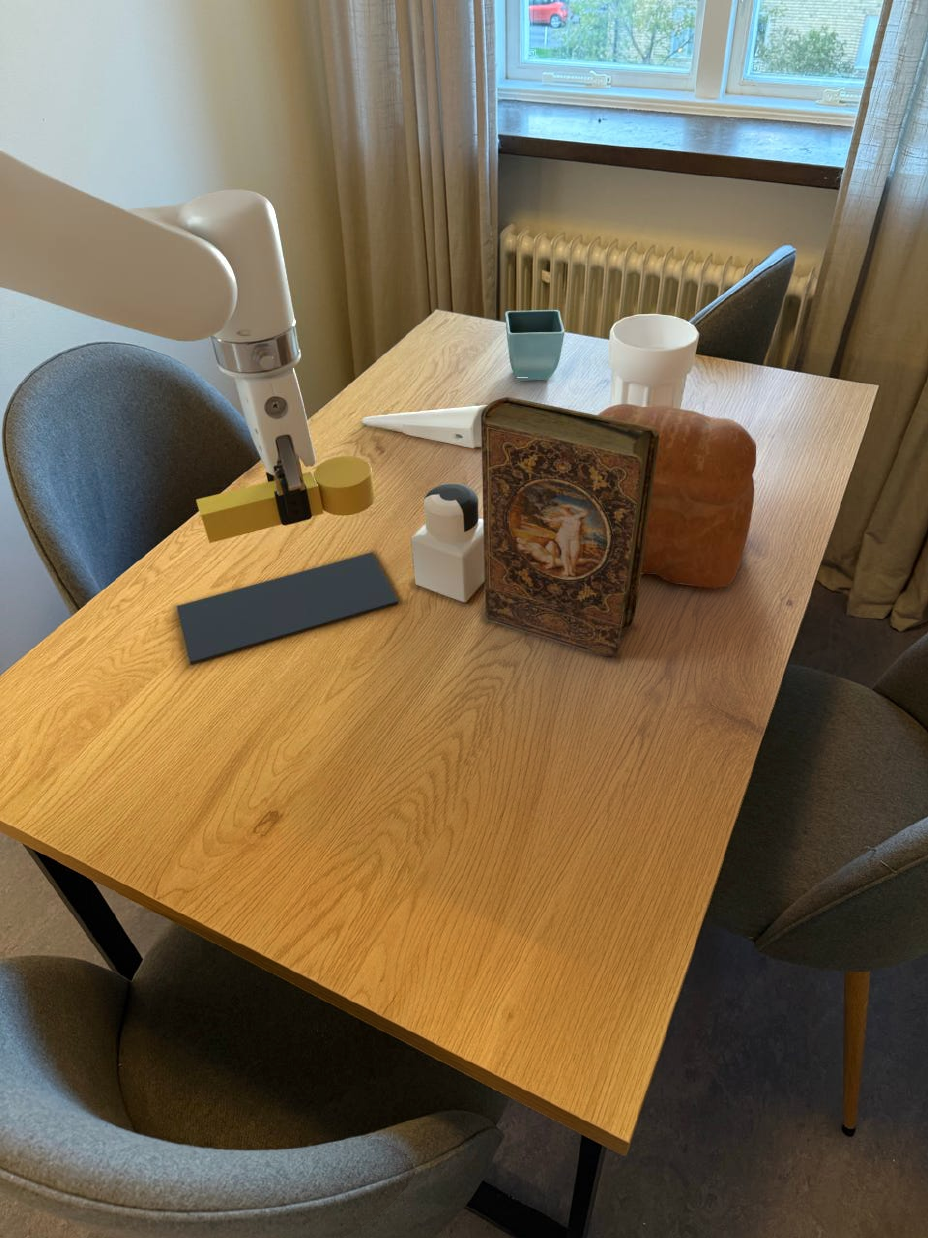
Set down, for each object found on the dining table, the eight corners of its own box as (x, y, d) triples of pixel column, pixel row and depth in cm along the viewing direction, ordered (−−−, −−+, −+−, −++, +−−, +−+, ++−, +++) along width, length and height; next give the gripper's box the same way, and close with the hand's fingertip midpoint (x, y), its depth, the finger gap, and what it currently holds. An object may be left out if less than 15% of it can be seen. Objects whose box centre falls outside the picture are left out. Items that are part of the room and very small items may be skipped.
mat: (190, 664, 91) (189, 662, 90) (177, 608, 97) (176, 605, 97) (398, 603, 97) (398, 600, 96) (372, 554, 104) (372, 552, 103)
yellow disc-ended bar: (211, 551, 83) (203, 523, 81) (202, 519, 88) (193, 491, 85) (382, 506, 88) (378, 478, 86) (365, 478, 92) (361, 450, 90)
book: (478, 617, 94) (472, 420, 77) (498, 588, 98) (497, 394, 81) (617, 660, 89) (643, 458, 72) (633, 628, 92) (662, 428, 75)
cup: (662, 478, 114) (680, 358, 102) (586, 457, 118) (595, 339, 106) (691, 440, 120) (711, 323, 109) (619, 421, 125) (631, 307, 113)
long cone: (385, 416, 132) (494, 430, 124) (364, 439, 128) (475, 455, 120) (376, 384, 128) (488, 396, 120) (354, 407, 124) (468, 421, 116)
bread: (730, 607, 94) (762, 482, 83) (548, 569, 100) (554, 447, 89) (750, 520, 106) (779, 400, 95) (586, 490, 112) (595, 374, 101)
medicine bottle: (445, 552, 103) (440, 470, 95) (495, 569, 101) (494, 486, 92) (414, 585, 99) (405, 501, 91) (465, 604, 96) (461, 520, 88)
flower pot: (556, 361, 140) (559, 308, 134) (562, 386, 134) (565, 332, 128) (504, 363, 140) (504, 310, 134) (507, 388, 134) (507, 334, 128)
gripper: (320, 374, 70) (348, 545, 83) (277, 303, 82) (307, 464, 94) (232, 393, 69) (274, 565, 81) (200, 318, 80) (242, 480, 92)
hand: (292, 509), depth 88 cm, fingers closed on yellow disc-ended bar, 3 cm apart
